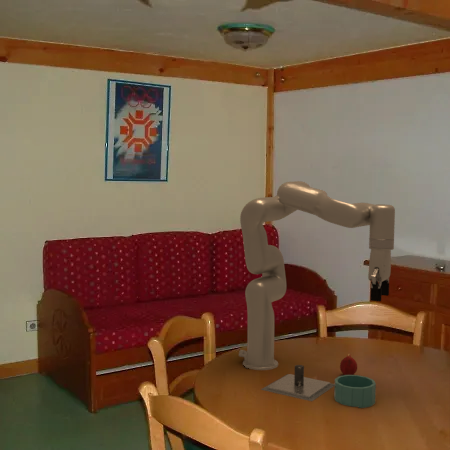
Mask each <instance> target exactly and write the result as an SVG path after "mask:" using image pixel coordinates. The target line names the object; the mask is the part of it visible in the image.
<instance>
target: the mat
mask: <svg viewBox="0 0 450 450" xmlns="http://www.w3.org/2000/svg"><path fill="white" fill-rule="evenodd" d="M287 375H288V373H287V374H285V375H284V376H282V377H280V378H279V379H276V380H275V381H273V382H271V383H270V384H268V385H265V386H264V387H263V388H261V389H260V390H261V391H265V392H270V393H274V394H278V395H281V396H287V397H292V398H295V399H299V400H303V401H308V402H314V401H315V400H316V399H318V398H319V397H321V396H322V395H323V394H325V393H326V392H328V391H329V390H331V389H333V388H335V383H331V382H330V385H329V386H328V387H326V388H325V389H323V390H322V391H320V392H319V393H317V394H316V395H315V396H313V397H312V398H310V399H308V398H304V397H300V396H295V395H291V394H287V393H282V392H278V391H274V390H269V389H267V386H269V385H271V384H273V383H274V382H276V381H278V380H280V379H281V378H283V377H285V376H287Z"/></svg>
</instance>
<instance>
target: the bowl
mask: <svg viewBox="0 0 450 450" xmlns="http://www.w3.org/2000/svg"><path fill="white" fill-rule="evenodd" d="M334 384H335V386H334V387H333V388H334V390H333V391H334V392H333V393H334V394H333V395H334V396H333V397H334V400H335V402H337V403H338V404H341V405H344V406H348V407H353V408H355V407H357V408H358V409H364V408H370V407H373V405H375V404H376V393H377V391H376V388H377V386H376V381H375V380H374V379H373V378H370V377H369V376H364V375H360V374H359V375H358V374H353V375H344V374H343V375H338V376H337V377H336V378H334Z"/></svg>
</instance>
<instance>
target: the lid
mask: <svg viewBox="0 0 450 450" xmlns="http://www.w3.org/2000/svg"><path fill="white" fill-rule="evenodd" d="M287 374H288V373H287ZM287 374H286V375H287ZM284 376H285V375H284ZM282 377H283V376H282ZM282 377H280V378H281V379H280V378H279V379H280V380H278V379H277V380H278V381H276V380H275V381H276V382H275V381H273V382H274V383H273V382H272V383H273V384H271V383H270V384H271V385H269V384H268V385H269V386H268V385H266V386H267V389H269V390H274V391H278V392H282V393H287V394H291V395H295V396H300V397H304V398H308V399H310V398H312V397H313V396H315V395H316V394H317V393H319V392H320V391H322V390H323V389H325V388H326V387H328V386H329V385H330V383H331V382H329V381H325V380H321V379H314V378H310V377H305V366H304V365H303V364H296V365H294V374H292V373H290V374H288V375H287V376H285V377H283V378H282Z"/></svg>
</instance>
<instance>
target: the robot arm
mask: <svg viewBox="0 0 450 450" xmlns="http://www.w3.org/2000/svg"><path fill="white" fill-rule="evenodd" d="M296 211H301V212H304V213H307V214H309V215H310V214H311V215H314V216H316V217H317V218H320V219H322V220H323V221H326V222H328V223H330V224H334V225H337V226H341V227H344V228H347V229H355V228H360V227H367V226H369V236H368V237H369V238H368V239H369V240H368V241H369V242H368V245H369V246H368V249H369V250H370V253H369V254H370V255H369V263H368V275H367V277H368V281H371V282H370V301H372V302H382V296H390V276H391V273H392V272H391V270H392V269H391V267H392V256H391V255H392V251H393V250H394V249H395V225H396V224H395V222H396V221H395V218H396V208H395V206H394V205H392V204H374V203H368V202H356V203H355V202H354V203H349V202H344V201H341V200H338V199H334V198H332V197H329V196H328V193H327V192H326V191H325V190H323V189H318V188H315V187H312V186H310V185H309V184H308V183H307V182H305V181H301V180H300V181H299V180H297V181H286V182H284V183H282V184H281V185H280V186H279V187H278V189H277V191H276V195H275V196H267V197H266V196H265V197H258V198H255V199H252V200H250V201H249V202H247V203H246V204H245V205H244V206H243V208H242V210H241V213H240V218H239V220H240V221H239V223H240V228H241V231H242V240H243V250H244V259H245V264H246V268H247V270H248V272H249V273H251V274H253V275H261V274H262V276H261V277H258V278H254V279H253V280H251V281H249V282H248V284H247V285H246V287H245V291H244V292H245V293H244V295H245V302H246V307H247V309H246V310H247V312H246V313H247V350H245V349H240V350H239V351H238V357H241V358H243V362H242V366H243V365H244V366H245V367H244V366H243V367H244V368H246V369H248V368H249V370H255V371H269V370H273V369H277V368H278V366H279V362H278V361H277V360H276V359H275V311H274V309H273V304H272V303H273V302H275V301H279V300H280V299H282V298H283V297H284V296H285V294H286V292H287V277H286V270H285V261H284V255H283V253H282V251H281V250H280V249H279V248H278V247H276V245H271V244H269V241H268V235H267V231H266V229H265V227H264V223H267V222H274V221H280V220H282V219H284V218H286V217H288V216H289V215H291V214H293V213H294V212H296Z"/></svg>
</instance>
